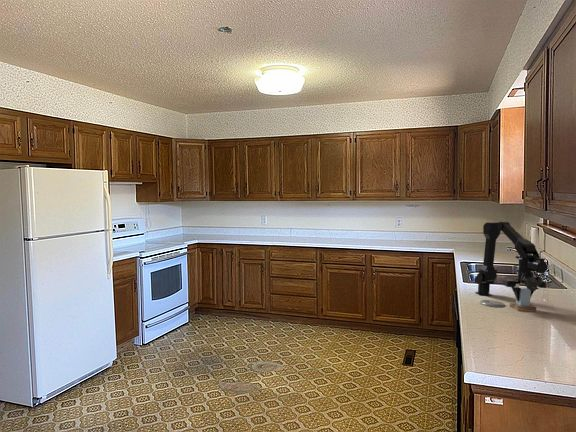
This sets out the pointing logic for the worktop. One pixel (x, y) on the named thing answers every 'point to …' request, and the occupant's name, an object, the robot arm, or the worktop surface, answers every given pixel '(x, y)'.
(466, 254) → the worktop surface
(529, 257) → the robot arm
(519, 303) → the slate block
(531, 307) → the walnut bay
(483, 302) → the charcoal trivet
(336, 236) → the worktop surface
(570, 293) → the worktop surface
